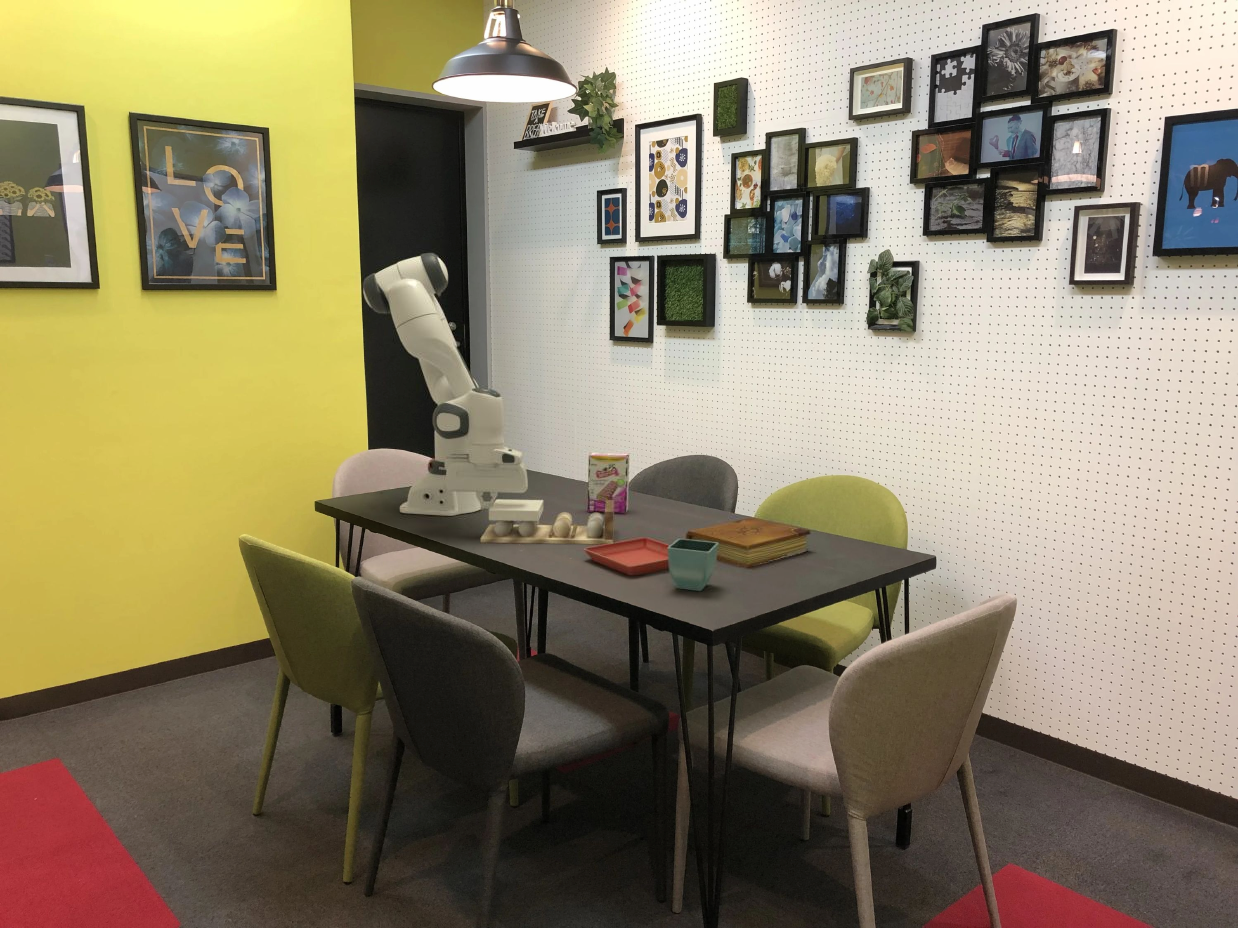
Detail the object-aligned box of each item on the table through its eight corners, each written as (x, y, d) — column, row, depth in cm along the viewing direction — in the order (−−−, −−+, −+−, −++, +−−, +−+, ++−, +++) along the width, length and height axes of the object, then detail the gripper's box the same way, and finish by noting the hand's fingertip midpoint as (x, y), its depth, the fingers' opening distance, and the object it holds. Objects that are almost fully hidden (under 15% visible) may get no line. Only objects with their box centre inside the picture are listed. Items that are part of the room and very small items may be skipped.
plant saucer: (629, 580, 196) (629, 565, 196) (582, 561, 211) (582, 547, 210) (694, 567, 207) (695, 553, 206) (645, 550, 221) (645, 537, 221)
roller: (553, 537, 227) (552, 521, 226) (557, 527, 238) (556, 512, 237) (569, 537, 227) (569, 521, 226) (572, 527, 238) (572, 511, 237)
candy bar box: (587, 512, 260) (587, 454, 257) (589, 509, 265) (590, 452, 262) (627, 514, 259) (627, 456, 256) (628, 510, 264) (629, 453, 261)
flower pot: (718, 583, 194) (719, 541, 192) (708, 595, 185) (709, 551, 184) (677, 579, 196) (678, 537, 195) (665, 590, 188) (666, 547, 187)
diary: (748, 539, 235) (749, 517, 234) (809, 554, 221) (810, 530, 220) (685, 553, 219) (686, 529, 219) (746, 570, 206) (747, 544, 205)
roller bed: (480, 542, 225) (480, 509, 224) (489, 528, 240) (489, 497, 239) (612, 544, 225) (613, 512, 224) (613, 530, 240) (614, 499, 239)
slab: (488, 520, 225) (488, 510, 225) (496, 509, 238) (496, 499, 238) (538, 520, 225) (538, 510, 225) (543, 509, 238) (543, 500, 238)
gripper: (441, 455, 226) (442, 511, 229) (525, 457, 226) (525, 512, 228) (447, 451, 233) (447, 505, 235) (528, 453, 232) (528, 507, 234)
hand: (486, 509), depth 232 cm, fingers closed
